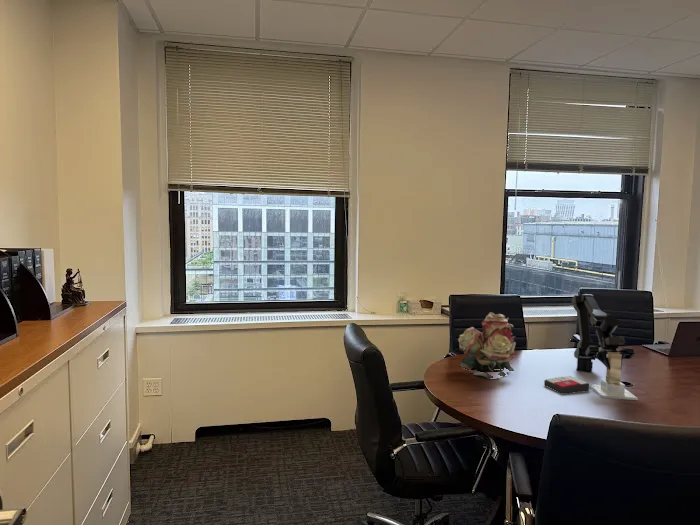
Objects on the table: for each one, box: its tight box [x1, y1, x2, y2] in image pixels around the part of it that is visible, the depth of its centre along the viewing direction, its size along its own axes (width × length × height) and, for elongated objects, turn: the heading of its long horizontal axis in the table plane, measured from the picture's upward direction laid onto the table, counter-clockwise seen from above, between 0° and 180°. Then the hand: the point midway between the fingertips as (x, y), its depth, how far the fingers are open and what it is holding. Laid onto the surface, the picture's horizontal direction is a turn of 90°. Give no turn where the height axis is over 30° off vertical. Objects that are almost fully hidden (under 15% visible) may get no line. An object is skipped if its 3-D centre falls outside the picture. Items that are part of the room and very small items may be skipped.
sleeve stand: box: [589, 378, 639, 401], centre depth 190 cm, size 14×14×6 cm
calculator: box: [543, 375, 590, 394], centre depth 196 cm, size 11×4×15 cm
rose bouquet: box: [457, 311, 517, 380], centre depth 216 cm, size 26×29×30 cm
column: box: [605, 352, 622, 384], centre depth 190 cm, size 4×4×13 cm
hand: (615, 369), depth 188 cm, fingers closed on column, 4 cm apart
